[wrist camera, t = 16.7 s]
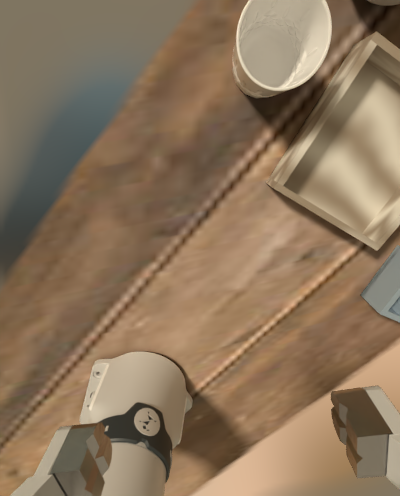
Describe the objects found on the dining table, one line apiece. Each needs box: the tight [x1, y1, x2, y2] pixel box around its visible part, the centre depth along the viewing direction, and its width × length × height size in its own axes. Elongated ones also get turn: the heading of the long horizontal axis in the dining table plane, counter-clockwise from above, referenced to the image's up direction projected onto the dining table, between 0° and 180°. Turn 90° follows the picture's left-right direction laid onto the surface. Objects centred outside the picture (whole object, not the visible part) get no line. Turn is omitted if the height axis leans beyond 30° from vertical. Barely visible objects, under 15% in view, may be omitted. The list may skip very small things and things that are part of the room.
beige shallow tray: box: [266, 31, 400, 251], centre depth 34 cm, size 18×16×4 cm
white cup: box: [232, 0, 332, 99], centre depth 28 cm, size 8×8×10 cm
